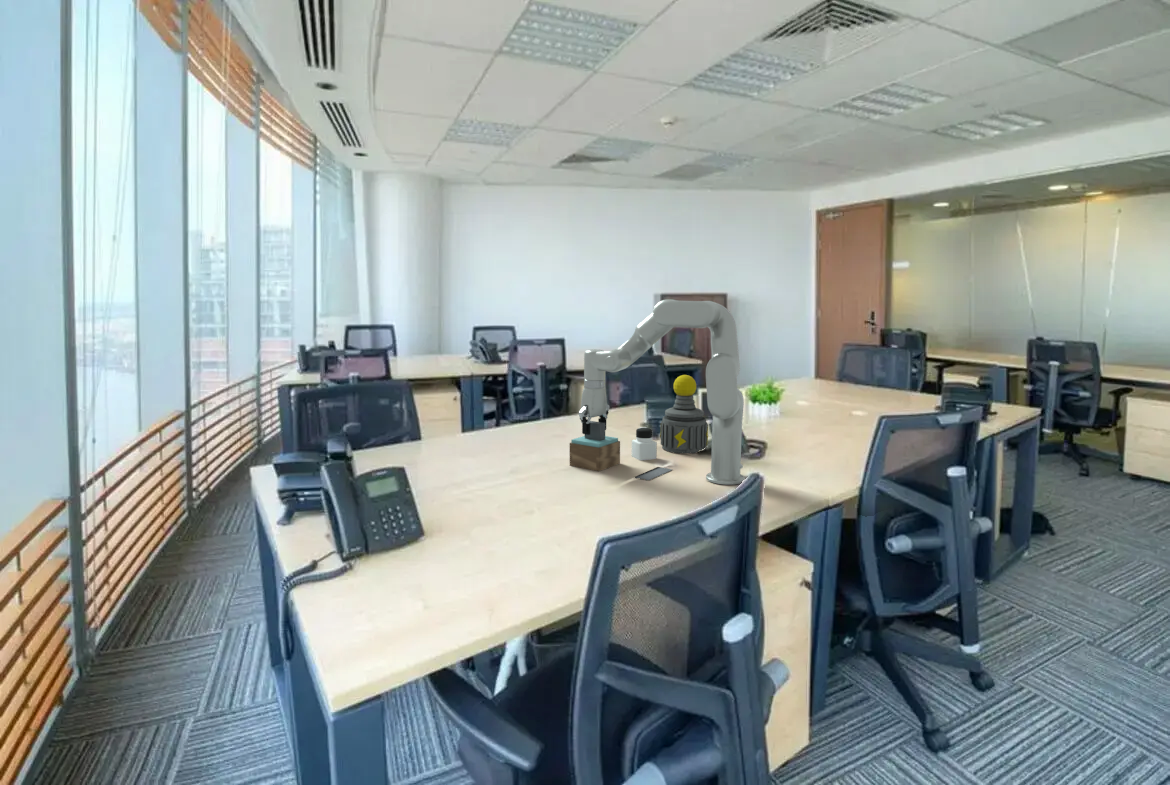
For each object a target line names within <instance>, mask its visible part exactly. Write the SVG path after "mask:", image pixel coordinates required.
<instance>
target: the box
mask: <svg viewBox="0 0 1170 785" xmlns="http://www.w3.org/2000/svg"><path fill="white" fill-rule="evenodd" d="M619 464H621V440H618V441H617V442H614V443H611V444H608V445H605V446H602V447H599V448H598V447H592V446H586V445H581V444H575V443H571V442H569V466H571V467H576V468H581V469H586V470H591V471H596V472H601V471H603V470H606V469H609V468H612V467H614V466H616V465H619Z"/></svg>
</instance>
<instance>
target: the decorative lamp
mask: <svg viewBox="0 0 1170 785" xmlns="http://www.w3.org/2000/svg"><path fill="white" fill-rule="evenodd" d="M696 390H697V383H696V380H695V379H694V378H693V376H690V375H687V374H682V375H679V376H677V378H675V379H674V382H673V391H674V393H675V394H676V396H675V399H674V404H673V406H672V407H669V408H666V409H665V411H664V416H662V420H661V421H660V423H659V424H660V434H659V438H660V445H661V448H662V450H664V451H665V450H666V452H668V451H669V453H673V452H674V454H680V453H692V454H697V453H696V452H698V451H699V450H702V449H704V448H705V447H706V448H707V446H708V439H709V424H708V422H707V418H706V417H705V411H704V410H702V409H701V408H699V407H698V408H697V407H696V404H695V400H694V396H693V395H694V394H695V393H696Z"/></svg>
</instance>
